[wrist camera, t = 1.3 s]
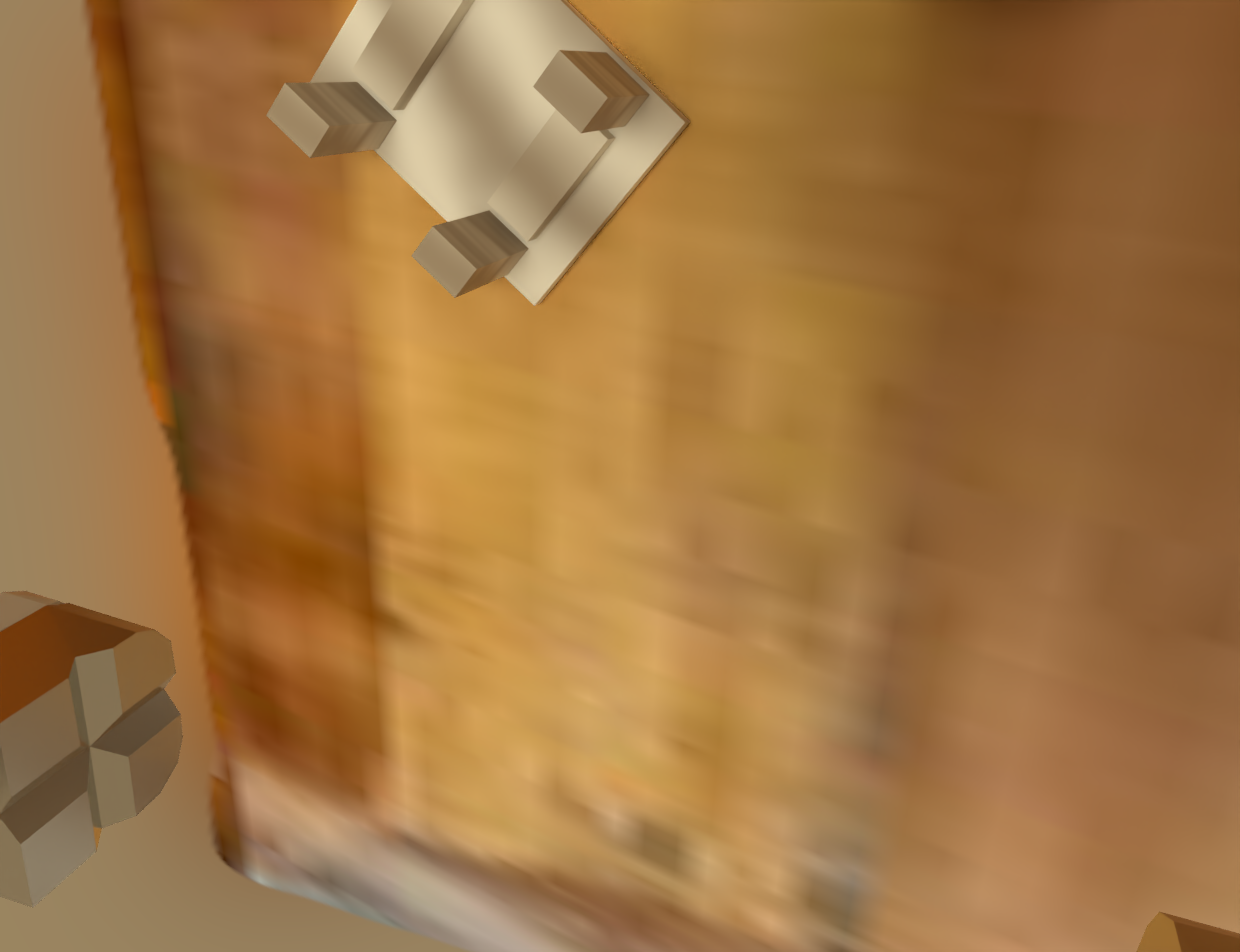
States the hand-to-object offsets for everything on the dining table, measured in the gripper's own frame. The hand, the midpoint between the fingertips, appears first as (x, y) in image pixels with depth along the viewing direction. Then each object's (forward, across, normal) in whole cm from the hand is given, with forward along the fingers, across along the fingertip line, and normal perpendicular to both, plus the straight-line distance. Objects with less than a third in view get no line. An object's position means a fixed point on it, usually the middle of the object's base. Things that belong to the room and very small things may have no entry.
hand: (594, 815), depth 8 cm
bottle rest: (+36, +17, -3) cm, 40 cm away
